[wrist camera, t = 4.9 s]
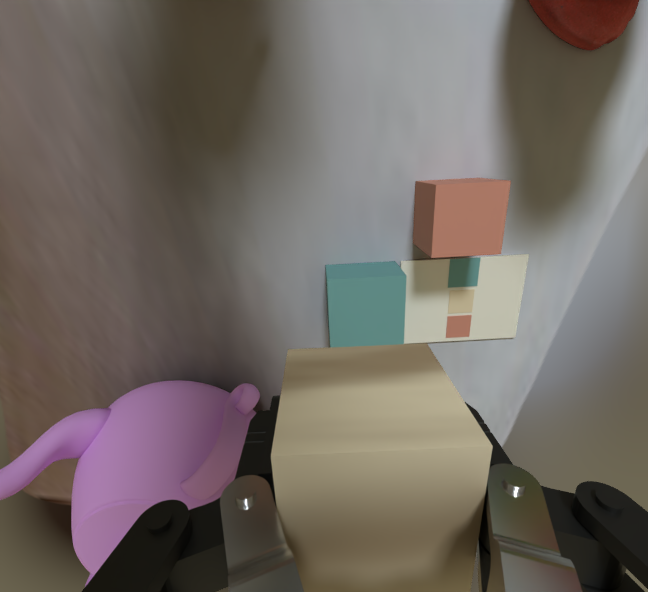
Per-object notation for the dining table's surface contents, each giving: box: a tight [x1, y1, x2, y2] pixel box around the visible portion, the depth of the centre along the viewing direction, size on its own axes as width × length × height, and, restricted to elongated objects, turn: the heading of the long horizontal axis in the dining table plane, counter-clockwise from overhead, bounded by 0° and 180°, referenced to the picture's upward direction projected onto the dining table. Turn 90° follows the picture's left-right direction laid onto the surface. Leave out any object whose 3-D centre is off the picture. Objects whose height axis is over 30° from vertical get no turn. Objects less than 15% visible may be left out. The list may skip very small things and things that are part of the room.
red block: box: [413, 178, 511, 258], centre depth 26 cm, size 5×5×5 cm
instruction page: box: [401, 254, 529, 344], centre depth 31 cm, size 8×11×1 cm
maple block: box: [271, 343, 493, 592], centre depth 11 cm, size 5×5×5 cm
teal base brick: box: [325, 261, 407, 348], centre depth 29 cm, size 6×6×4 cm
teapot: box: [0, 380, 260, 587], centre depth 29 cm, size 22×22×14 cm
